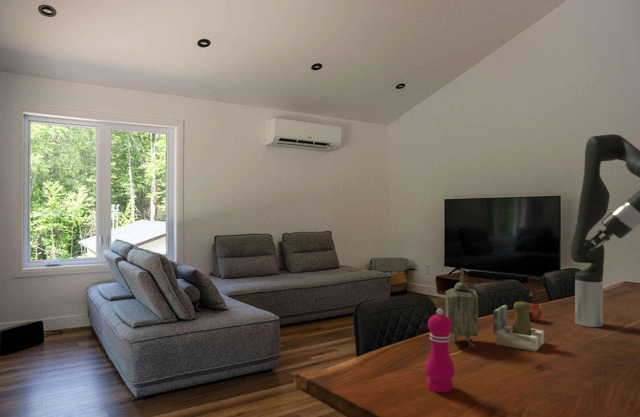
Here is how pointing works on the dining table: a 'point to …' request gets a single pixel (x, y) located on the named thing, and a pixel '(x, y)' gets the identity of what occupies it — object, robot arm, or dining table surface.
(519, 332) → the cork
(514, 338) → the stand
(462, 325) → the tabletop clock
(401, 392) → the dining table surface
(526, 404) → the dining table surface
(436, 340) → the pepper mill
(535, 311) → the pomegranate
